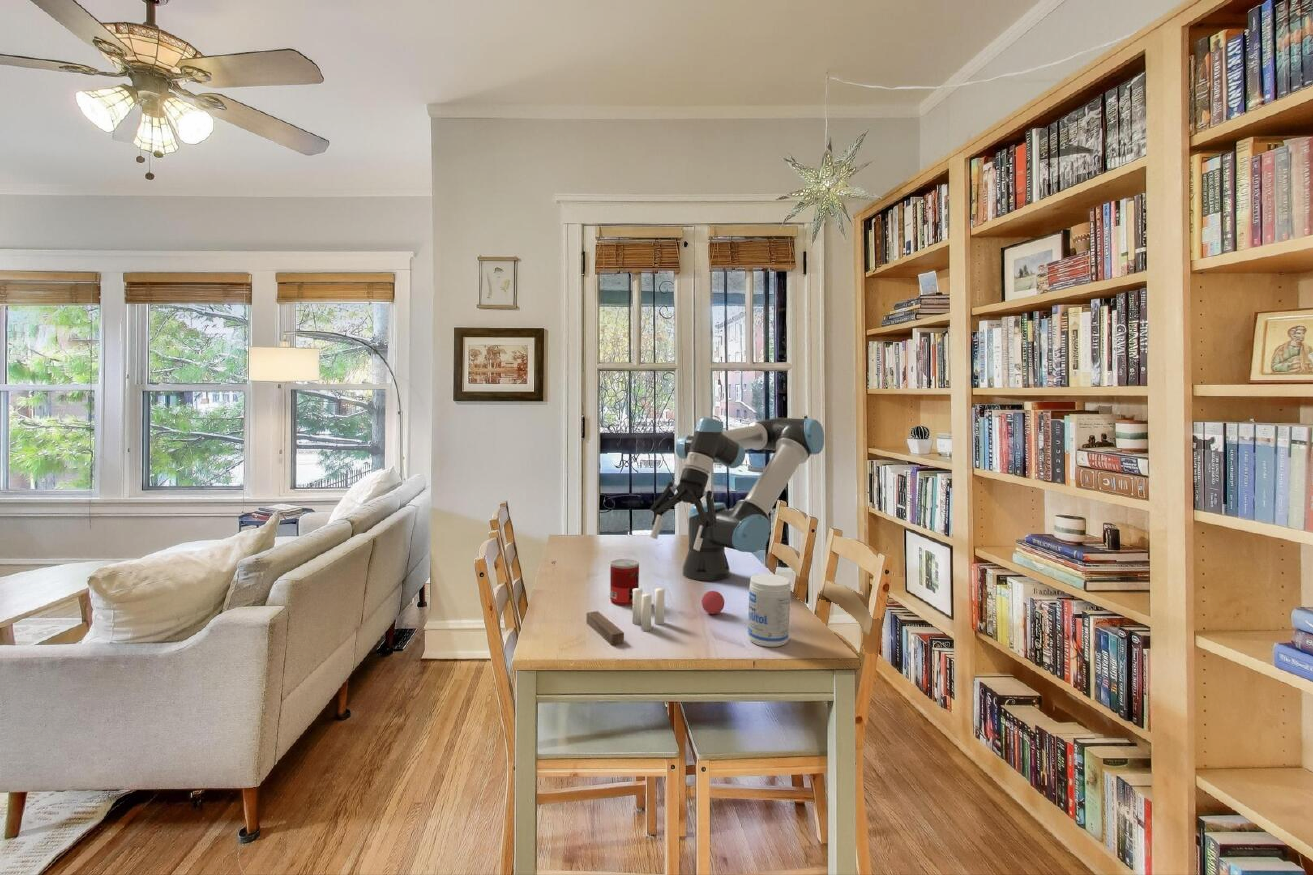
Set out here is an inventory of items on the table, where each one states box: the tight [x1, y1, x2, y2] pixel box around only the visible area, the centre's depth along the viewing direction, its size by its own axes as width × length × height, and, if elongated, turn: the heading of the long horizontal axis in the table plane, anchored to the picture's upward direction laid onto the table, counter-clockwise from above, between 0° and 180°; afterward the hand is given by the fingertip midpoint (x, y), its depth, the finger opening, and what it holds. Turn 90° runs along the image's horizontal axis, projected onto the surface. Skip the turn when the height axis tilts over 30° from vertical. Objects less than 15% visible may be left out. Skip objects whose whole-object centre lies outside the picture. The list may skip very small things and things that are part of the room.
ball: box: [701, 590, 725, 615], centre depth 164 cm, size 6×6×6 cm
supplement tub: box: [747, 573, 792, 648], centre depth 146 cm, size 10×10×15 cm
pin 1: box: [631, 587, 643, 625], centre depth 157 cm, size 2×2×8 cm
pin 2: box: [640, 593, 652, 632], centre depth 152 cm, size 2×2×8 cm
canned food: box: [609, 558, 640, 606], centre depth 173 cm, size 8×8×11 cm
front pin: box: [654, 587, 666, 626], centre depth 157 cm, size 2×2×8 cm
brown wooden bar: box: [586, 610, 625, 646], centre depth 150 cm, size 3×16×2 cm, turn 27°
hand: (674, 543), depth 170 cm, fingers open, 13 cm apart
